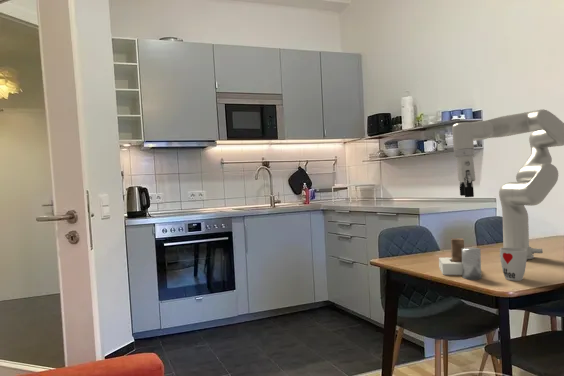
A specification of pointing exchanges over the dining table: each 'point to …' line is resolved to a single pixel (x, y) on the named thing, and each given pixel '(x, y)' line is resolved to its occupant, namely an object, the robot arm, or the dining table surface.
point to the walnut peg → (456, 249)
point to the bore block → (450, 266)
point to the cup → (513, 262)
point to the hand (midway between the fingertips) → (466, 196)
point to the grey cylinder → (471, 263)
